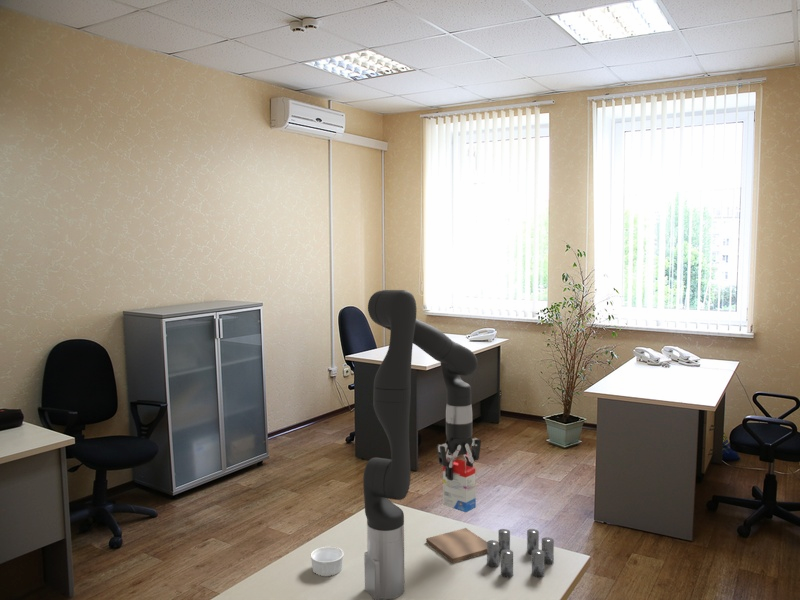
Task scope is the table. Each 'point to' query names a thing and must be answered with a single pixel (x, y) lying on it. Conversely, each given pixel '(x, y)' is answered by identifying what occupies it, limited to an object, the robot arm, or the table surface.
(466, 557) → the walnut board
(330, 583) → the table surface
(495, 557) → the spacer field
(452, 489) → the ink box
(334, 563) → the ramekin
